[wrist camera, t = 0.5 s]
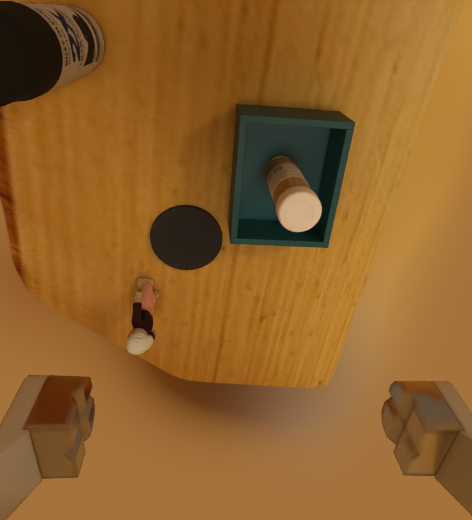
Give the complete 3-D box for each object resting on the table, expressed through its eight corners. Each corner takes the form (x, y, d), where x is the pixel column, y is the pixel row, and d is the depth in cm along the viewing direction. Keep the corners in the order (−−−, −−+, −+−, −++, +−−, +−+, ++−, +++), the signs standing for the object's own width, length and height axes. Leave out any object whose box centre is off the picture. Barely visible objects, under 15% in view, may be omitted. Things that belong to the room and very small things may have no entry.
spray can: (117, 61, 45) (60, 87, 28) (63, 84, 46) (-23, 123, 29) (85, -6, 42) (-1, -23, 25) (28, 20, 43) (-92, 22, 26)
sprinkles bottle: (273, 193, 54) (290, 241, 43) (256, 165, 52) (270, 206, 41) (303, 176, 53) (329, 220, 42) (288, 146, 51) (311, 184, 40)
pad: (149, 203, 54) (148, 204, 54) (224, 207, 55) (224, 208, 55) (151, 267, 59) (151, 268, 59) (220, 269, 60) (220, 271, 60)
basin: (236, 104, 48) (240, 114, 43) (339, 111, 49) (355, 122, 44) (228, 222, 56) (230, 243, 51) (317, 226, 57) (327, 247, 52)
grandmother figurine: (124, 277, 60) (106, 334, 49) (148, 268, 59) (134, 324, 48) (149, 314, 64) (137, 375, 53) (172, 306, 63) (164, 366, 52)
